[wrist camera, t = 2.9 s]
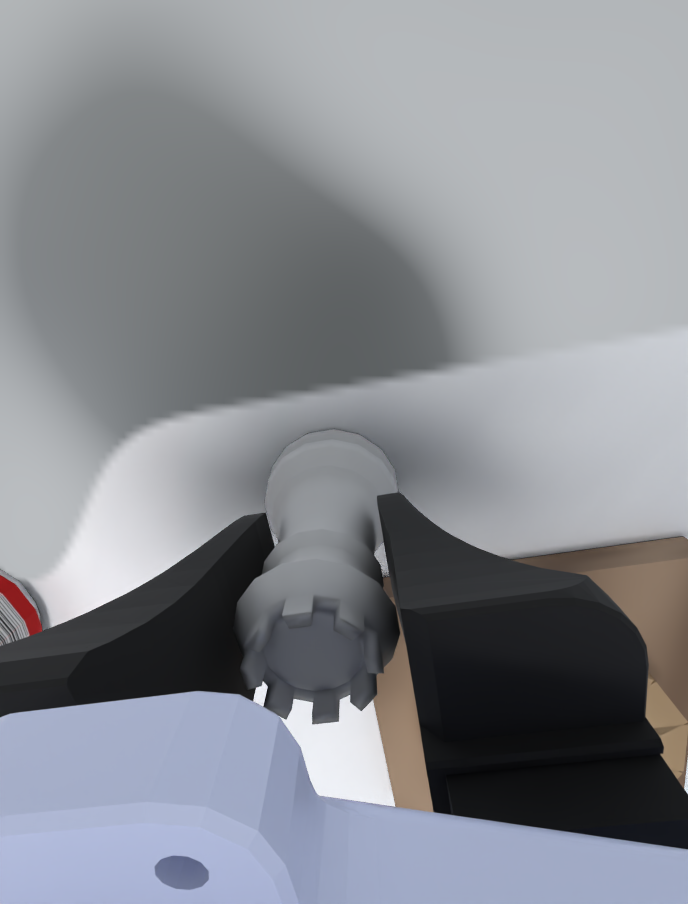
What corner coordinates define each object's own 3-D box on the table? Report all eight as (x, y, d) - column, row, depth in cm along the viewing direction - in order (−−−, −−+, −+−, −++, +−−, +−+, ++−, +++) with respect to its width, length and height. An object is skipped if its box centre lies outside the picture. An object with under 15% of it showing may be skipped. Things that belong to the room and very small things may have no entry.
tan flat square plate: (683, 536, 15) (764, 593, 12) (663, 769, 19) (721, 857, 16) (353, 581, 16) (352, 645, 13) (396, 794, 20) (404, 881, 17)
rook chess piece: (394, 543, 16) (429, 765, 8) (272, 540, 16) (197, 757, 8) (401, 426, 14) (452, 564, 7) (267, 423, 14) (169, 557, 7)
